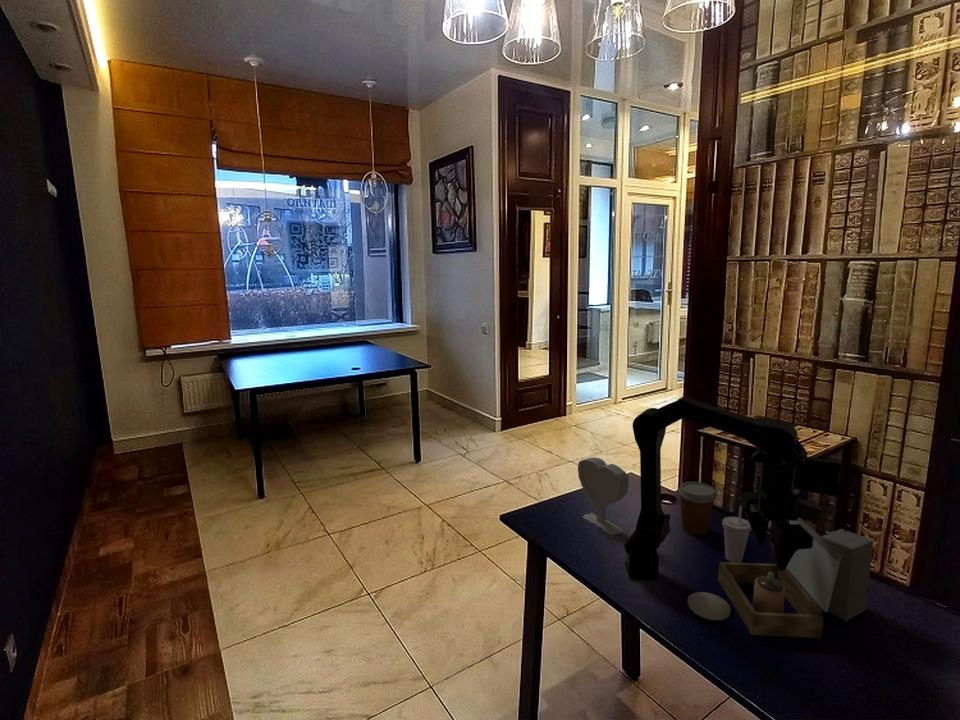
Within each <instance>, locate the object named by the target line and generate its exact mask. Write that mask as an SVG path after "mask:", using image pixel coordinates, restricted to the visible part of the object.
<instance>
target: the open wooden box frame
mask: <svg viewBox="0 0 960 720" xmlns="http://www.w3.org/2000/svg"><path fill="white" fill-rule="evenodd" d="M769 572H772V573H773V574H774V578H775V579H777V580H779V581H780V582H781V583H782V584H783V585H784V586H785V588H786V591H785V599H786V600H787V601H788V603H789V604H790V606H791V607H792V608H793V609H794V611H795V612H796V613H784V612H783V613H765V612H756V611H755V610H754V608H753V607H752V603H751V602H750V600H749V599H748V598H747V595H745V593H744V592H743V589H741V587H740V585H739V584H738V583H740V584H741V583H742V584H744V583H746V584H754V583H755V579H756V578H758V577H761V576H768V573H769ZM717 580H718V582H719V584H720V586H721V587H722V589H723V590H724V592H725V593H726V595H727V596H728V598H729V600H730V602H731V603H732V605H733V607H734V608H735V610H736V612H737V613H738V614H739V615H738V616H739V617H740V618H741V620H742V621H743V623H744V625H745V626H746V627H747V629H748V631H749V633H750V634H751V636H763V637H765V636H767V637H787V638H788V637H791V638H810V639H811V638H812V639H822V635H823V627H824V620H825V617H824V616H823V615H822V614H823V613H822V612H823V610H822V608H820V607H819V606H818V605H817V604H816V603H815V600H814V599H813V598H812V597H811V596H810V595H809V593H808V592H807V591H806V590H805V589H804V588H803V586H802V585H801V584H800V583H799V582H798V581H797V579H796V578H795V577H794V576H793V575H792V574H791V572H790V571H789V570H788V569H787V568H786V569H785V570H779V569H778V567H777V564H776V563H762V562H761V563H760V562H759V563H758V562H756V563H755V562H741V563H734V562H730V561H727V562H725V561H719V564H718V575H717Z"/></svg>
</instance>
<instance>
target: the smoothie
mask: <svg viewBox="0 0 960 720" xmlns="http://www.w3.org/2000/svg"><path fill="white" fill-rule="evenodd" d="M742 508H743V507H742V506H741V505H739V508H738V516H726V517H724V518H723V519H722V521H721V522H722V523H721V524H722V526H723V536H724V537H723V538H724V554H725V559H726V560H727V562H734V563H743V558H744V554H745V551H746V546H747V543H748V539H749V535H750V532H751V531H752V529H751V527H750V524H749V522H748V520H747V519H744V518H742V512H743V509H742Z"/></svg>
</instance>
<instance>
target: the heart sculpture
mask: <svg viewBox="0 0 960 720" xmlns="http://www.w3.org/2000/svg"><path fill="white" fill-rule="evenodd" d="M577 465H578V466H577V474H578V475H577V476H578V479H579V482H580V484H581V487H582V490H583V491H584V492H585V493H586V494H585V495H587V497H588V498H589V500H590V501H591V502H592V503H593V505H594V506H595V508H596V514H595V513H593V512H589V513H590V514H585V515H584V516H583V517H582V518H584V519H586V520H588V521H590V522H591V523H594V524H596V525H597V526H599V527H601V528H602V529H603V530H604V531H603V530H602V531H603V532H605V531H606V532H605V533H607V534H608V535H619V534H621V533H622V532H623V530H624V529H623V528H621V527H620V526H618V525H616V524H614V523H613V522H610V521H608V520H606V511H607V509H606V508H607V506H609V505H612V504H615V503H616V502H619V501H622V500H623V499H624V497H625V496H626V495H627V494H628V491H629V485H630V482H629V479H630V478H629V475H628V474H627V472H626V471H625V470H624V469H622V468H621V466H618V465H616V464H614V463H610V464H607V463H606V462H605V460H603V459H602V458H599V457H588V458H584V459H581V460H580V461H578V463H577Z"/></svg>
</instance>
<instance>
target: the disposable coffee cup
mask: <svg viewBox="0 0 960 720" xmlns="http://www.w3.org/2000/svg"><path fill="white" fill-rule="evenodd" d="M678 495H679V501H680V515H681V528H682V529H683V531H684V532H686V533H688V534H691V535H694V536H703V535H706V534H707V533H708V528H709V525H710V519H711V517H712V516H711V515H712V511H713V507H714V501H716V498H717V493H716V491H715V489H714V487H712V486H711V485H709V484H706V483H703V482H697V481H686V482H683V483H681V484H680V486H679V488H678Z"/></svg>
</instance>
